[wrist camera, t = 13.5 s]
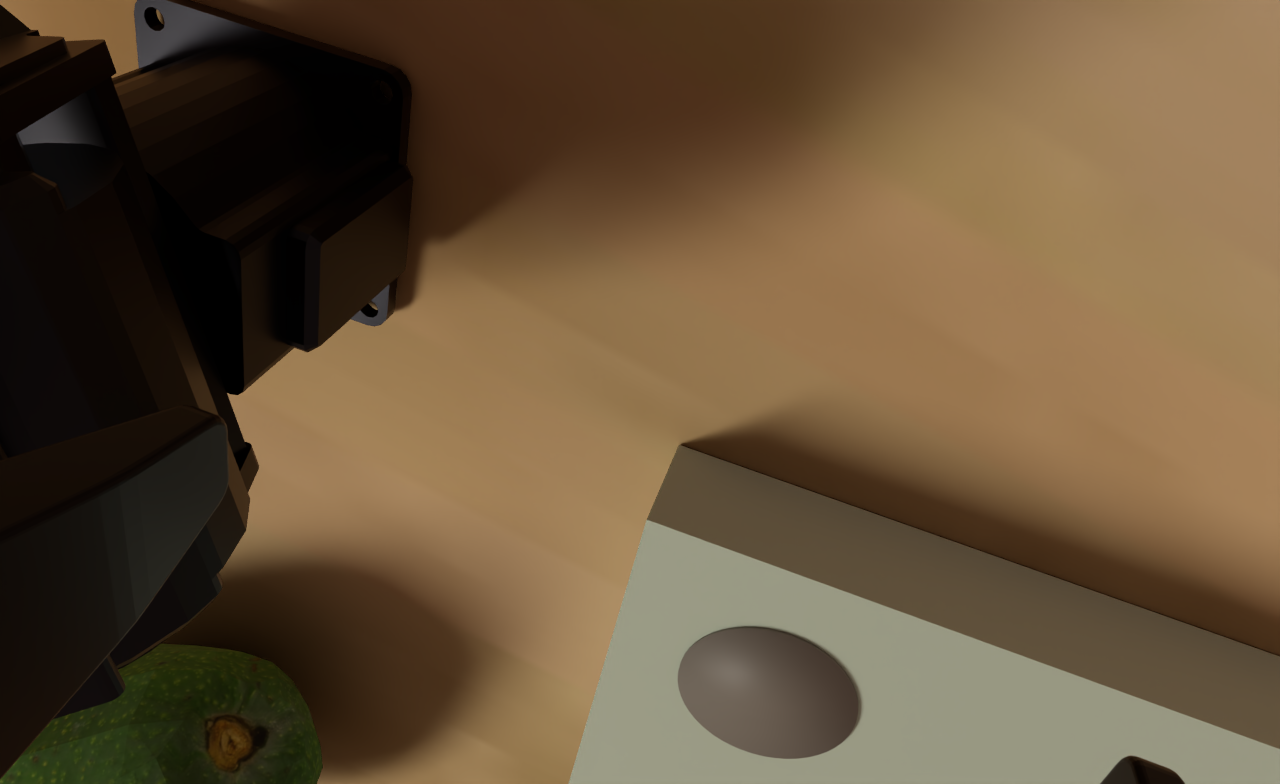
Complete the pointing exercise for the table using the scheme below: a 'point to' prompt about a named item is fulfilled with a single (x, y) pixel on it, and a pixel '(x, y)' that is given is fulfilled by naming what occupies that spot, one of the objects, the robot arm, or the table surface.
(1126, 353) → the table surface
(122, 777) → the fruit
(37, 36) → the robot arm
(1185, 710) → the seat board
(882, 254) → the table surface
